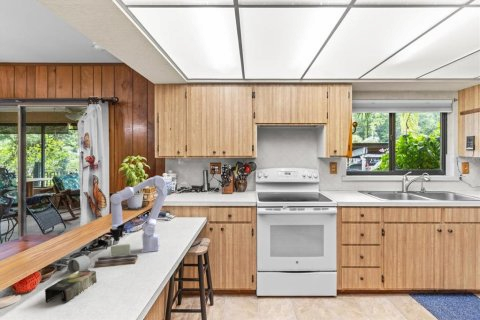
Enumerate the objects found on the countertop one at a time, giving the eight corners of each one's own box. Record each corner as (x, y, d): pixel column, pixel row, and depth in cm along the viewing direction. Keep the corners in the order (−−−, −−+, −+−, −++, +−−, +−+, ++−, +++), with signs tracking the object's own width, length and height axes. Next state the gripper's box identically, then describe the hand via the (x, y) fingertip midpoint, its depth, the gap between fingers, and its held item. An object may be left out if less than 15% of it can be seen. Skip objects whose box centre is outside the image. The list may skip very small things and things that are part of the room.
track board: (138, 257, 164) (137, 252, 164) (134, 263, 155) (134, 258, 155) (99, 261, 161) (99, 256, 160) (94, 267, 152) (93, 262, 152)
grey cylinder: (92, 268, 150) (91, 253, 150) (79, 275, 142) (78, 259, 142) (75, 267, 153) (74, 253, 153) (62, 274, 145) (61, 258, 145)
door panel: (130, 254, 170) (129, 243, 170) (129, 255, 168) (129, 244, 168) (112, 255, 169) (111, 245, 168) (111, 256, 167) (110, 246, 166)
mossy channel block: (79, 280, 137) (79, 267, 137) (99, 281, 136) (98, 268, 135) (44, 303, 117) (43, 288, 117) (66, 305, 116) (65, 289, 115)
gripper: (112, 212, 174) (114, 235, 175) (105, 218, 160) (107, 243, 161) (125, 212, 175) (126, 234, 176) (119, 217, 161) (120, 242, 162)
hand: (118, 238), depth 168 cm, fingers open, 7 cm apart
